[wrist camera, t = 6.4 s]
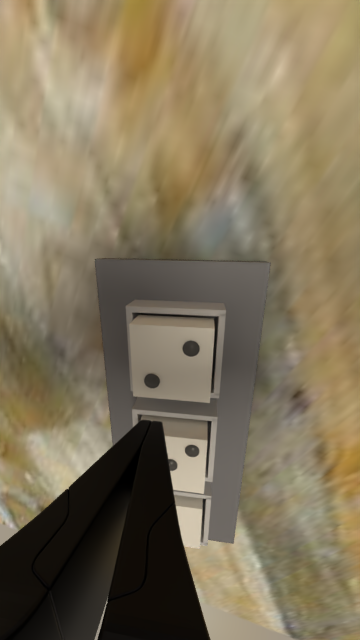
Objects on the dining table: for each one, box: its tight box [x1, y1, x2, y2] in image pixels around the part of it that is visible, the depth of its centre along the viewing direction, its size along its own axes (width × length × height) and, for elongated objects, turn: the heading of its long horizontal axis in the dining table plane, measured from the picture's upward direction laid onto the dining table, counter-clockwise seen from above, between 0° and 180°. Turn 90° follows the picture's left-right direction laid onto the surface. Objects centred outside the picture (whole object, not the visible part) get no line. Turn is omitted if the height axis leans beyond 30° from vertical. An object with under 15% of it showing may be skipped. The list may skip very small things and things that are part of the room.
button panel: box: [95, 258, 271, 546], centre depth 19 cm, size 12×28×4 cm, turn 179°
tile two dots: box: [129, 315, 215, 403], centre depth 15 cm, size 5×5×2 cm
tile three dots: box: [141, 415, 207, 494], centre depth 17 cm, size 5×5×2 cm
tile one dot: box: [174, 495, 203, 549], centre depth 20 cm, size 5×5×2 cm
